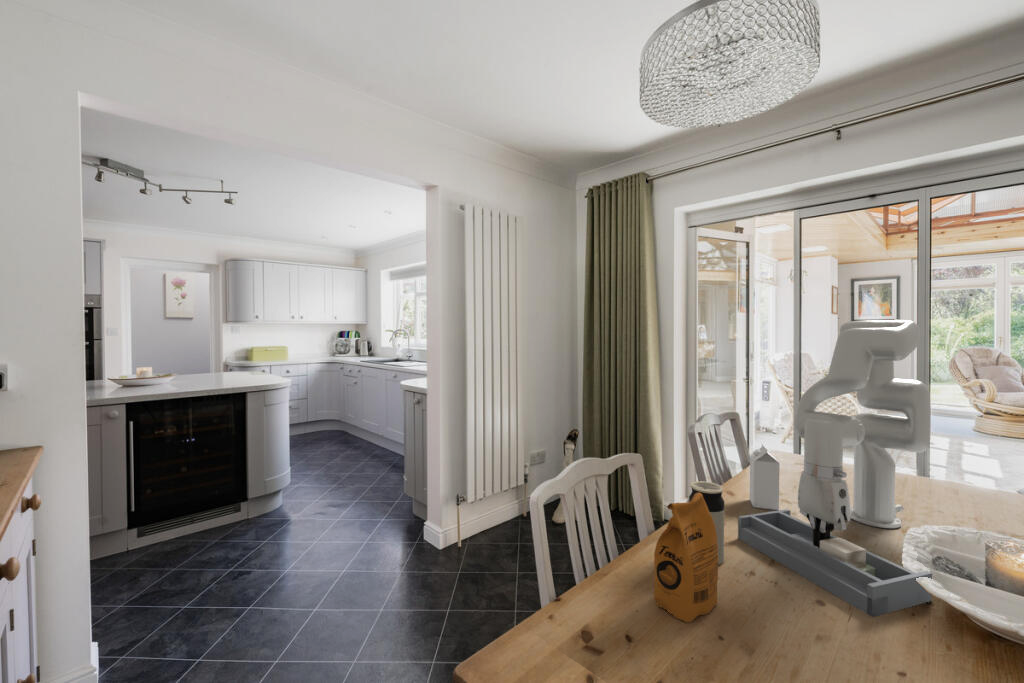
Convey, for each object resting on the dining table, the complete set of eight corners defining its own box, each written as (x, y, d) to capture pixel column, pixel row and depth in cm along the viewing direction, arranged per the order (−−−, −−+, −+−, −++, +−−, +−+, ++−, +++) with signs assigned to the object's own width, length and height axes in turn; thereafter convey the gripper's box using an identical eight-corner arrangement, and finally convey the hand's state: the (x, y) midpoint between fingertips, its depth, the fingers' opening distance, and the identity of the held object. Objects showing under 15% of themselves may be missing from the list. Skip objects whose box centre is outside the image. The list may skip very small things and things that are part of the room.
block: (839, 553, 104) (839, 537, 104) (865, 567, 98) (866, 549, 98) (819, 557, 102) (819, 540, 102) (845, 571, 97) (845, 553, 96)
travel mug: (696, 546, 115) (697, 478, 114) (728, 558, 109) (729, 486, 108) (683, 558, 109) (683, 486, 109) (716, 570, 103) (717, 494, 103)
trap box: (787, 530, 124) (787, 509, 124) (931, 601, 91) (932, 573, 91) (738, 538, 119) (738, 516, 119) (872, 617, 86) (872, 587, 86)
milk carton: (773, 502, 144) (774, 444, 143) (779, 510, 137) (779, 450, 137) (749, 499, 146) (750, 443, 146) (753, 507, 139) (754, 448, 139)
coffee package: (645, 601, 92) (646, 497, 91) (683, 583, 98) (684, 485, 98) (687, 629, 83) (688, 514, 83) (725, 606, 90) (726, 500, 89)
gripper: (867, 478, 99) (865, 559, 99) (805, 460, 113) (804, 530, 113) (842, 482, 96) (840, 564, 97) (782, 462, 111) (781, 534, 111)
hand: (821, 546), depth 105 cm, fingers closed
